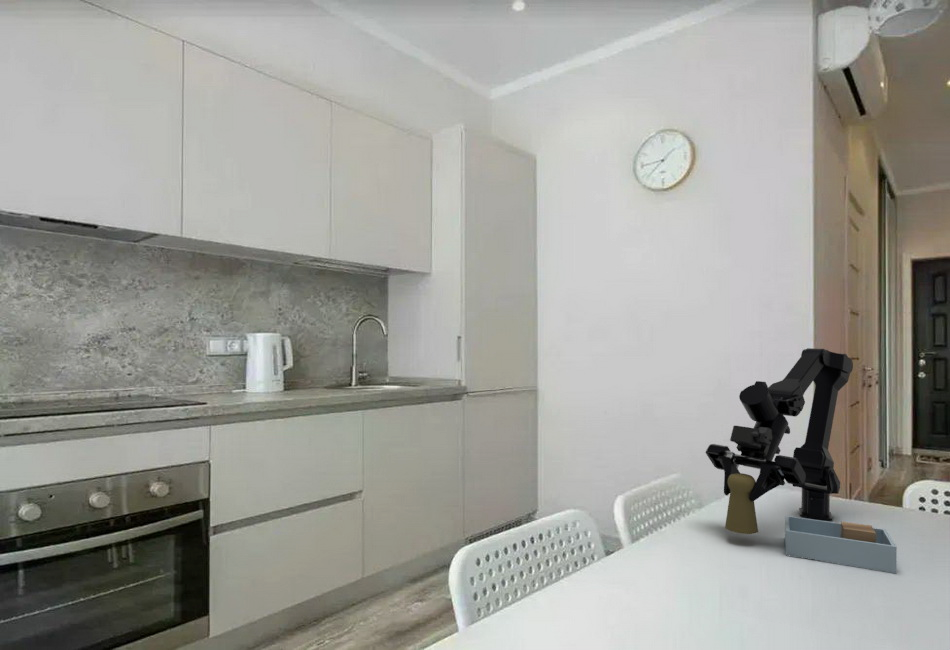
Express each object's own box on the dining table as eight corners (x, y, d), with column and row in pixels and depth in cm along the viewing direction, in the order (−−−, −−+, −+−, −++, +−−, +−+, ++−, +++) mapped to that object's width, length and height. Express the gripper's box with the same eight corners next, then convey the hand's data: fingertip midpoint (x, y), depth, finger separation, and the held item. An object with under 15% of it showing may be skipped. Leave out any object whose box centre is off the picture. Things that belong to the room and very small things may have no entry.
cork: (751, 524, 122) (751, 471, 122) (762, 534, 116) (763, 478, 116) (721, 523, 123) (721, 470, 123) (730, 533, 117) (731, 477, 117)
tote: (785, 538, 122) (785, 515, 122) (885, 553, 114) (885, 529, 114) (785, 555, 112) (786, 530, 112) (896, 573, 104) (896, 547, 104)
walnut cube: (840, 547, 115) (840, 521, 115) (871, 552, 113) (871, 525, 113) (843, 555, 111) (843, 528, 111) (875, 560, 109) (875, 533, 109)
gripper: (710, 406, 129) (680, 463, 123) (798, 416, 114) (769, 482, 108) (730, 439, 134) (701, 495, 127) (817, 452, 119) (790, 518, 112)
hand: (737, 497), depth 119 cm, fingers closed on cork, 5 cm apart
